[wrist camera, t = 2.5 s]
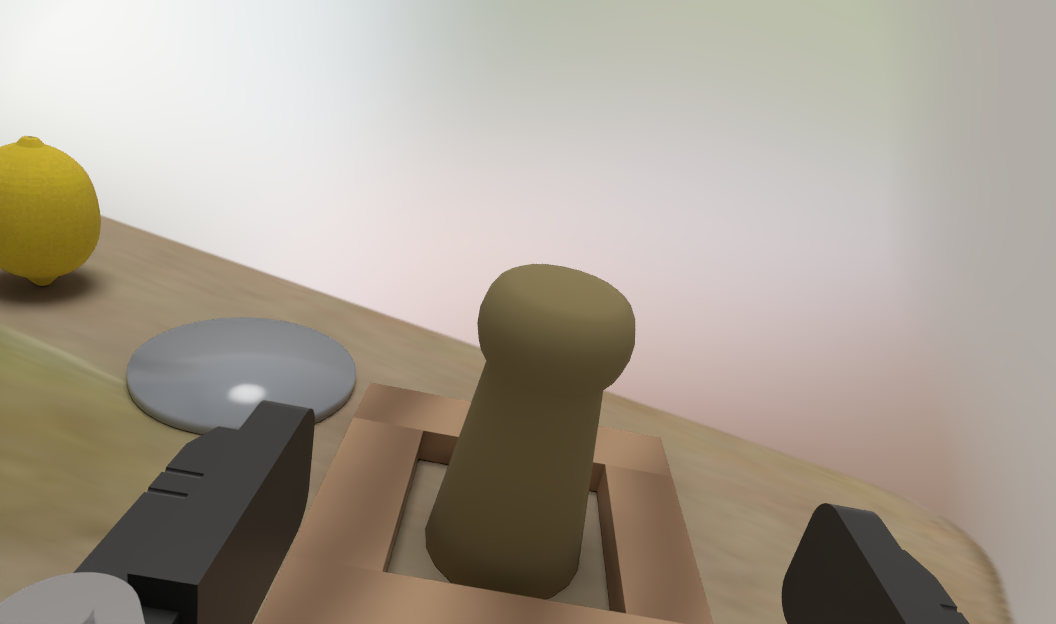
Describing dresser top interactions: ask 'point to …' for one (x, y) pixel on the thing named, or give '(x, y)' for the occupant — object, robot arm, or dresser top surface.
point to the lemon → (45, 212)
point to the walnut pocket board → (461, 611)
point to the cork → (530, 432)
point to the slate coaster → (237, 372)
